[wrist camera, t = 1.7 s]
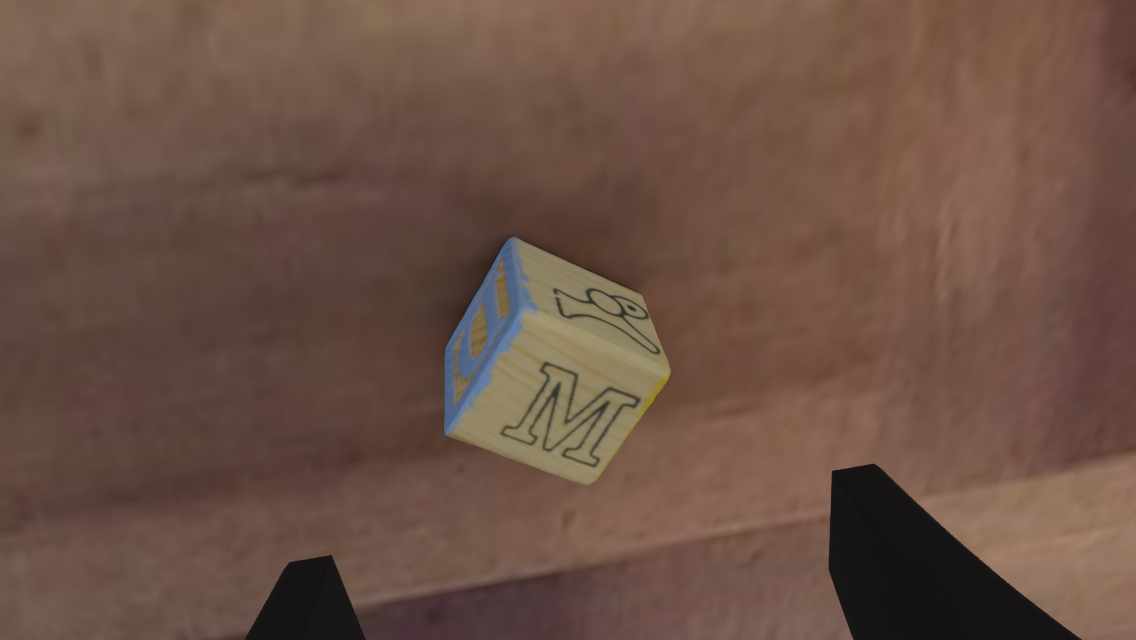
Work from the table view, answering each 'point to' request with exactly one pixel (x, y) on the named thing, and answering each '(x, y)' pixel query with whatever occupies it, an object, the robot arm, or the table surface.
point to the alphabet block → (551, 365)
